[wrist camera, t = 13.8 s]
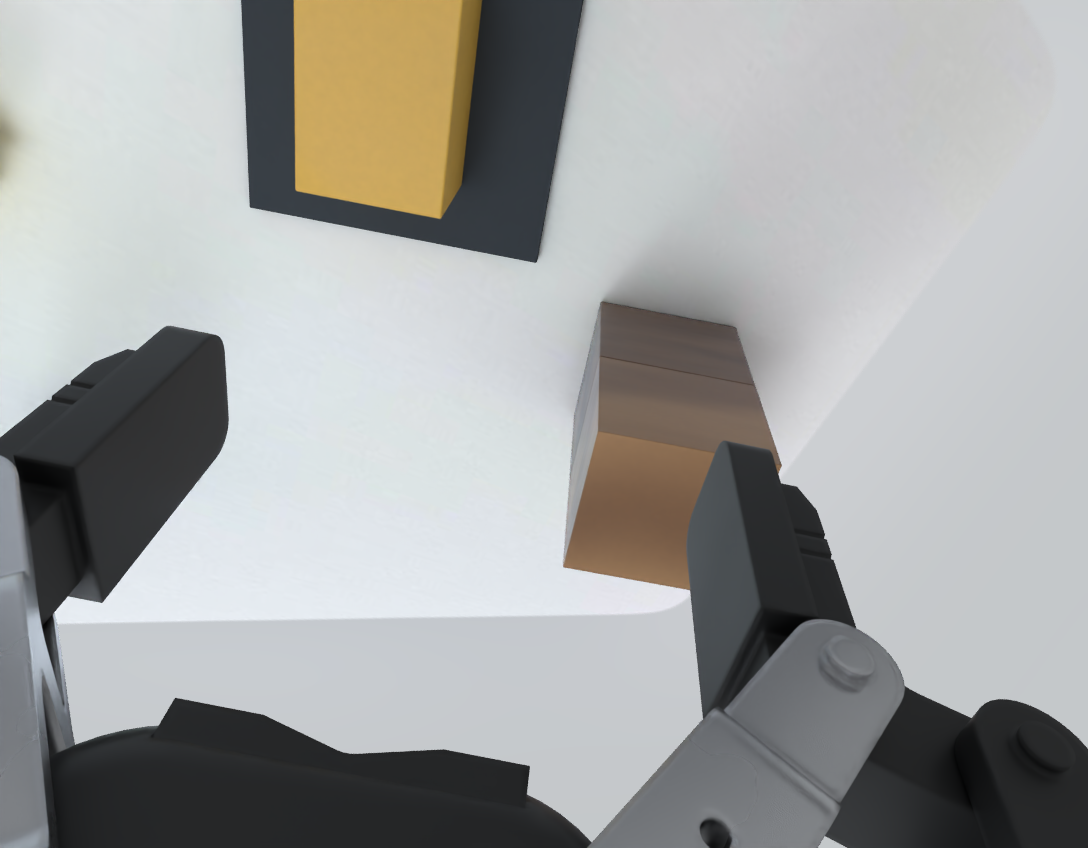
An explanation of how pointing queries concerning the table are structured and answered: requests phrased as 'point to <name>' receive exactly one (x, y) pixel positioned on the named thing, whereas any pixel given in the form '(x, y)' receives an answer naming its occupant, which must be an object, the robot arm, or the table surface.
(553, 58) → the mat
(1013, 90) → the table surface
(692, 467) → the tower
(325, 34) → the top block
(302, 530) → the table surface
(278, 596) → the table surface
